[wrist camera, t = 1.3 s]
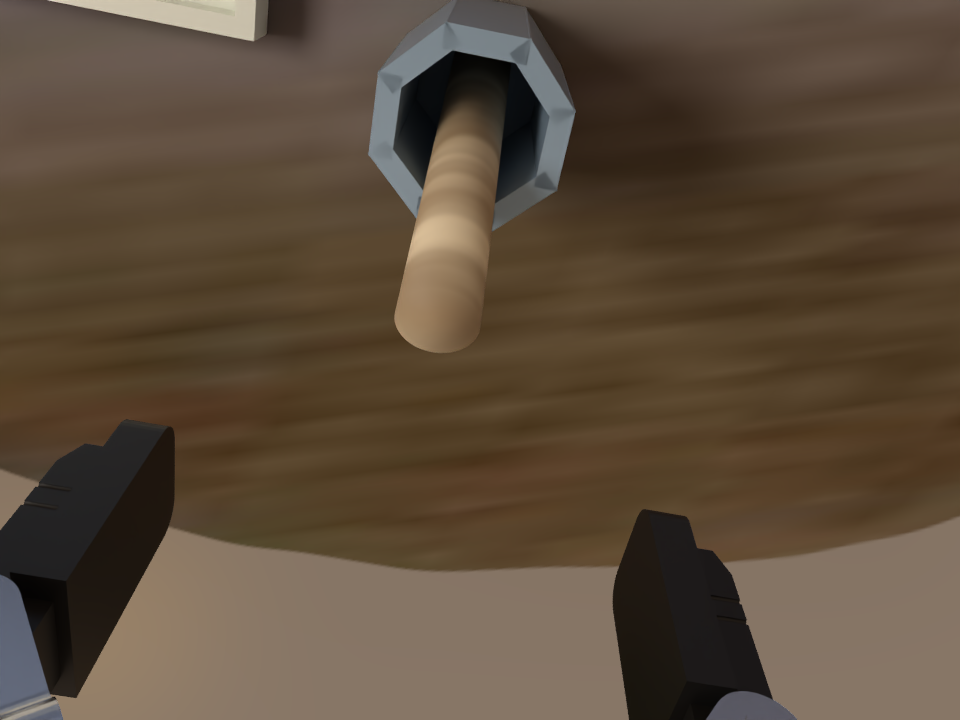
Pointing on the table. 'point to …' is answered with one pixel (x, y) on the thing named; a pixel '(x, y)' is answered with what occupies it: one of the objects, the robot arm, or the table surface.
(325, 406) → the table surface
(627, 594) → the robot arm
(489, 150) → the pin
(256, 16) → the tray
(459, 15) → the cup
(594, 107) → the table surface
